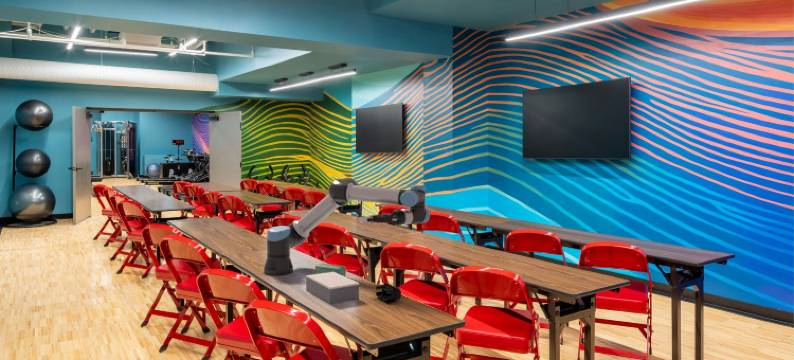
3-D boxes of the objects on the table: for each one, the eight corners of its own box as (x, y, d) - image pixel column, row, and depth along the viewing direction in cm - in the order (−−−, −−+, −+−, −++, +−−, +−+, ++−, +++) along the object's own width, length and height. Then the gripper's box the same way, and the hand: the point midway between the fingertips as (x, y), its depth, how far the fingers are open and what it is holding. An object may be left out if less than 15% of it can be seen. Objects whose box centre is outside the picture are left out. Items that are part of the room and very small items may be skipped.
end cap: (401, 302, 214) (401, 286, 214) (387, 304, 210) (387, 288, 210) (389, 296, 222) (389, 281, 222) (375, 298, 219) (375, 283, 218)
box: (339, 283, 242) (339, 268, 242) (314, 280, 247) (314, 265, 247) (345, 280, 249) (346, 265, 249) (322, 277, 254) (322, 263, 253)
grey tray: (306, 290, 229) (306, 277, 229) (333, 286, 237) (333, 273, 237) (329, 304, 210) (329, 289, 209) (358, 299, 217) (359, 285, 217)
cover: (306, 277, 229) (306, 275, 229) (333, 273, 237) (333, 271, 237) (329, 289, 209) (330, 287, 209) (359, 284, 217) (359, 283, 217)
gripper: (409, 226, 242) (367, 229, 229) (394, 222, 253) (353, 226, 240) (409, 210, 242) (367, 213, 228) (394, 208, 252) (353, 210, 239)
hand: (360, 220), depth 234 cm, fingers closed
